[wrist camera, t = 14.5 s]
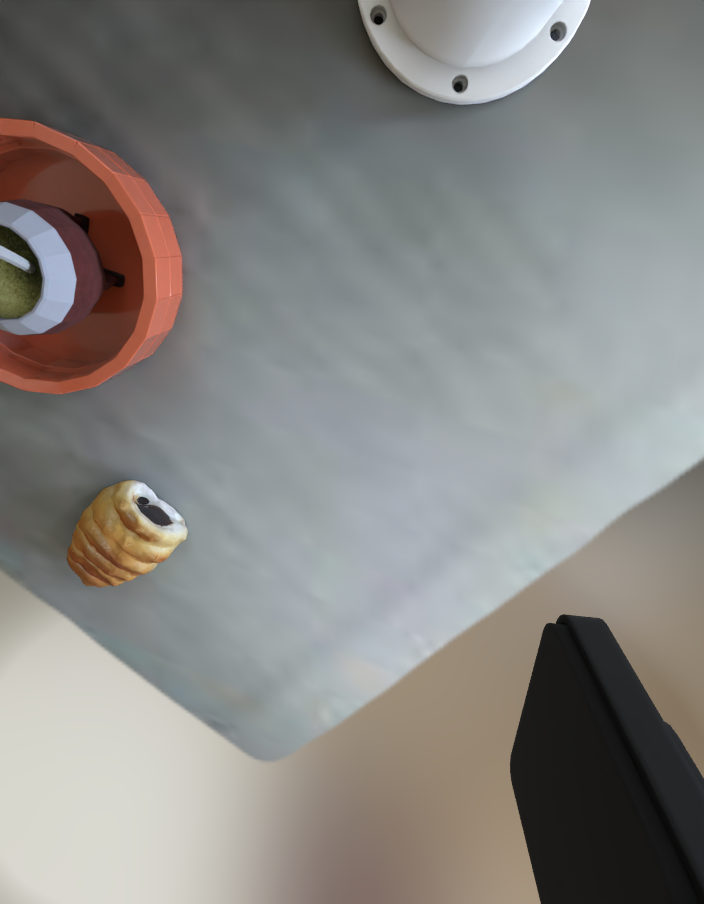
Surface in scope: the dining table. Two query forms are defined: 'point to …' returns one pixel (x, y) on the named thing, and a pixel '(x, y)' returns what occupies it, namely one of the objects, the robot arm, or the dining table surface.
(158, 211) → the terracotta bowl
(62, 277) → the mate gourd
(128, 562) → the pastry
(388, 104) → the dining table surface
